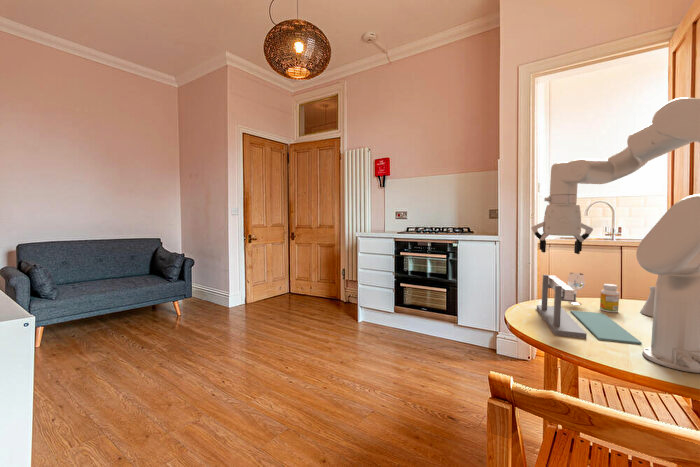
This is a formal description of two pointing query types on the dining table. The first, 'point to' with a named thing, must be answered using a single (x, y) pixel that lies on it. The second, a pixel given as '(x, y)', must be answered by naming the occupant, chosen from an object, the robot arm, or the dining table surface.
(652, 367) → the dining table surface
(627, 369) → the dining table surface
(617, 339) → the teal mat
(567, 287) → the steel rail
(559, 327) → the rail stand
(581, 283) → the wineglass
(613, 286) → the supplement bottle
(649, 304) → the flask
